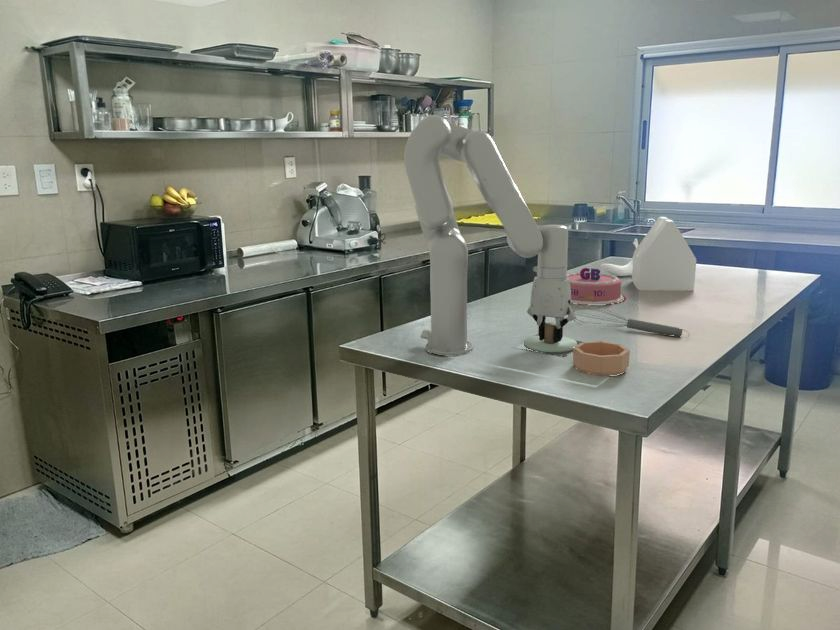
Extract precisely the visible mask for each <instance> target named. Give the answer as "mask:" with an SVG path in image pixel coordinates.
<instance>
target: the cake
mask: <svg viewBox="0 0 840 630" xmlns="http://www.w3.org/2000/svg"><path fill="white" fill-rule="evenodd" d="M567 278H569V282H570V288H571V303H572V304H571V305H574V304H573V303H577V304H578V305H577V306H579V305H580V306H584V305H583V304H606V305H605V306H612V305H611V303H614V305H619V304H622V303H624V302H625V300H626V301H627V297H626V295H624V294H622V280H621V278H619V277H618V276H616V275H613V274H610V273H607V272H606V273H604V272H601V270H600V269H599V268H592V267H591V268H590V267H584V268H582V269H581V270H580V272H573V273H567ZM622 297H624V300H623V298H622ZM621 300H623V301H622V303H621V302H619V301H621ZM617 302H619V304H618V303H617Z"/></svg>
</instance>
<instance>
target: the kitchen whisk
mask: <svg viewBox="0 0 840 630" xmlns="http://www.w3.org/2000/svg"><path fill="white" fill-rule="evenodd" d="M586 305H588V304H583V305H576V307H574V308H573V309H572V310H573V312H574V314H575V315H578V316H581V317H584V314H585V317H586V318H589V316H590V318H591V319H594V317H595V319H596V320H600V318H601V316H600V315H597V317H596V315H595V314H592V317H591V314H590V313H587V315H588V316H587V315H586V313H584V312H582V314H583V315H582V314H581V312H580V311H579V312H578V311H577V310H579V308H580V307H583V308H581V310H587V308H588V306H586ZM599 308H600V309H599ZM589 309H590V310H591V311H594V310H595V311H597V312H600V313H604V314H607V315H610V316H613V317H616V318H618V319H621V320H618V319H616V320H615V319H613V318H608V317H605V316H602V318H601V320H603V321H605V319H606V320H607V321H610V322H612V321H613V322H615V323H613V324H612V323H608V326H616V328H620V327H626V328H627V329H633V330H638V331H642V332H646V333H647V332H649V333H654V334H659V335H663V334H666V335H665V336H668V335H674V336H681V337H682V336H683V331H684V332H687V333H688V336H690V332H689V331H687V330H685V329H683V328H680V327H676V326H671V325H665V324H661V323H660V324H659V323H656V322H655V323H653V322H650V321H644V320H638V319H633V318H628V319H626V318H625V317H624V316H621V315H620V314H617V313H615V312H614V311H611V310H608V309H606V308H603V307H601V306H594V305H591V306H589ZM601 309H603V310H601ZM575 311H576V312H575ZM610 312H611V313H610ZM593 316H594V317H593ZM622 320H623V321H622ZM573 321H574V322H575V323H577V324H578V325H580V323H582V322H583V323H582V324H585V321H583V320H579V319H577V318H576V319H574V320H573ZM577 321H578V322H577ZM579 322H580V323H579ZM618 322H619V323H621V324H619V323H618ZM586 323H587V324H588V323H589V324H591V322H589V321H586ZM617 323H618V324H617ZM593 324H597V325H601V323H599V322H597V323H596V322H593Z"/></svg>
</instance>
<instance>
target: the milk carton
mask: <svg viewBox="0 0 840 630" xmlns="http://www.w3.org/2000/svg"><path fill="white" fill-rule="evenodd" d="M632 258H633V269H632V274H631V283H632V282H633V283H632V284H633V285H634V286H635V288H636V289H637V290H638V291H687V290H688V291H693V292H694V291H695V281H696V270H697V258H696V256H695V255H694V252H693V251H692V249H691V247H690V246H689V244H688V242H687V241H686V239H685V238H684V235H683V234H682V233H681V231H680V229H679V227H678V226H677V224H676V223H675V221H674V220H672V219H670V218H668V217H666V216H659V217H658V218H657V219H656V220H655V222H654V224H652V226H651V228H650V229H649V230H648V231H647V233H646V235H645V236H644V237H643V239H642V240H641V241H640V242H639V243H638V247H637V248H636V247H635V250H634V251H633V254H632ZM688 291H687V292H688Z"/></svg>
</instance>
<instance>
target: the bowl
mask: <svg viewBox="0 0 840 630" xmlns="http://www.w3.org/2000/svg"><path fill="white" fill-rule="evenodd" d="M630 351H631V350H630V349H629V348H628V347H626V346H625V345H622V344H621V343H617V342H610V341H609V342H608V341H603V340H597V341H582V342H581V343H580V344H578V345H576V346H575V347H573V352H572V364H573V365H574V368H575V367H576V368H577V369H578V370H577V369H576V368H575V369H576V370H577V371H579V370H580V371H579V372H581V371H582V373H583V372H585V373H584V374H587V373H590V374H589V375H592V374H595V375H594V376H600V375H617V374H620V373H623V372H625V371H626V372H627V368H628V367H630V366H629V365H630Z"/></svg>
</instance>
